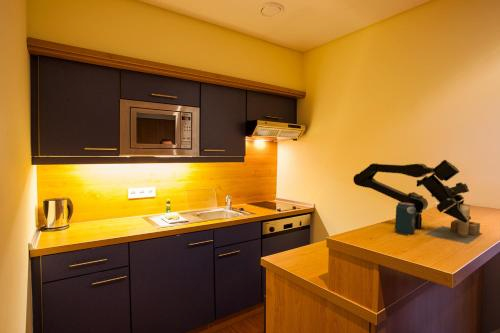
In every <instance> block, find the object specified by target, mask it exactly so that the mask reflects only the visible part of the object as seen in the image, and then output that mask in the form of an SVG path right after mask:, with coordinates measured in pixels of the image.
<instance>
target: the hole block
mask: <svg viewBox="0 0 500 333" xmlns="http://www.w3.org/2000/svg"><path fill="white" fill-rule="evenodd" d="M458 222H459V220H458V219H456V218H455V219H454V220H452V221H451V222H450V227H451V229H450V232H455V233H458ZM480 230H481V223H479V222H475V221H470V220H469V229H468V235H470V236H476V235H477V234H479V233H481V232H480Z"/></svg>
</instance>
